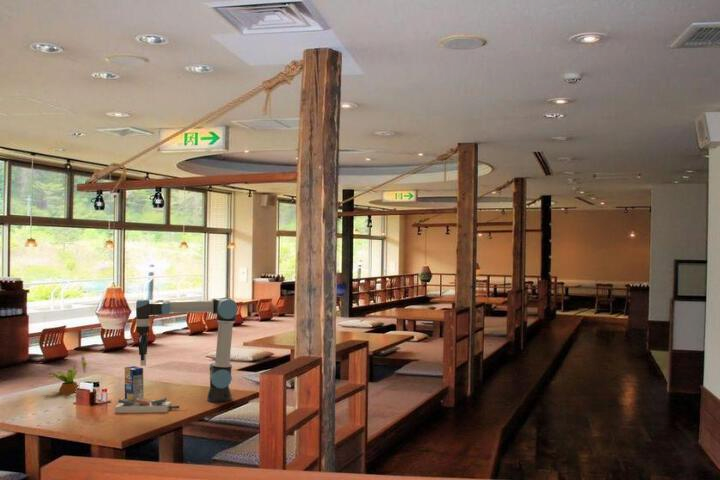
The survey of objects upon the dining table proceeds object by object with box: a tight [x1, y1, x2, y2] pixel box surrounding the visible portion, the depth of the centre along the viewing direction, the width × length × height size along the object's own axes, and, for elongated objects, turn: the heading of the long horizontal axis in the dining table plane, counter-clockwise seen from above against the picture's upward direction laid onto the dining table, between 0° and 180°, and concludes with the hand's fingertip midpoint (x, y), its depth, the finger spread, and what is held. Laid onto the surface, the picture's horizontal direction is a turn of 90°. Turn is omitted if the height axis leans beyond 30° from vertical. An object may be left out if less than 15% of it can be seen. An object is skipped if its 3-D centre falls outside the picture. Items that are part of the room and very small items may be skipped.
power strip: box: [114, 401, 180, 414], centre depth 399 cm, size 36×11×4 cm, turn 91°
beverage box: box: [124, 365, 144, 401], centre depth 416 cm, size 7×11×22 cm, turn 45°
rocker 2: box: [135, 398, 152, 405], centre depth 397 cm, size 8×4×2 cm, turn 91°
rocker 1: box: [118, 397, 135, 405], centre depth 397 cm, size 8×4×2 cm, turn 91°
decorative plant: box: [48, 355, 88, 395], centre depth 452 cm, size 27×24×25 cm
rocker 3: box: [151, 397, 167, 405], centre depth 397 cm, size 8×4×2 cm, turn 91°
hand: (143, 365), depth 399 cm, fingers closed
